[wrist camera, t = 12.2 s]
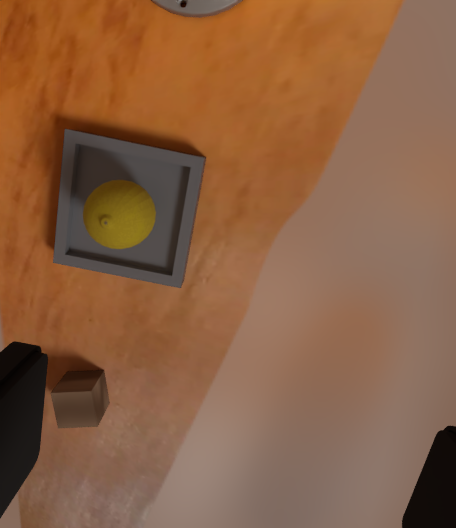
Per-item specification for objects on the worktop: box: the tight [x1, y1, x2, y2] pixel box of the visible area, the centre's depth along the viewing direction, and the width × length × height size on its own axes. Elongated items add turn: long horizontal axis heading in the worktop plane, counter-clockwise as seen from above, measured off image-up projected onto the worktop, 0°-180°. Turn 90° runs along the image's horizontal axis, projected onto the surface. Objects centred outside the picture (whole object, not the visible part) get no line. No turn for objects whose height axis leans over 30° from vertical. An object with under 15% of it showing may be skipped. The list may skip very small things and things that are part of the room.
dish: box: [53, 129, 206, 288], centre depth 38 cm, size 12×12×2 cm
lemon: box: [83, 180, 156, 249], centre depth 34 cm, size 6×6×8 cm
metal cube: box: [51, 370, 110, 428], centre depth 42 cm, size 4×4×4 cm
